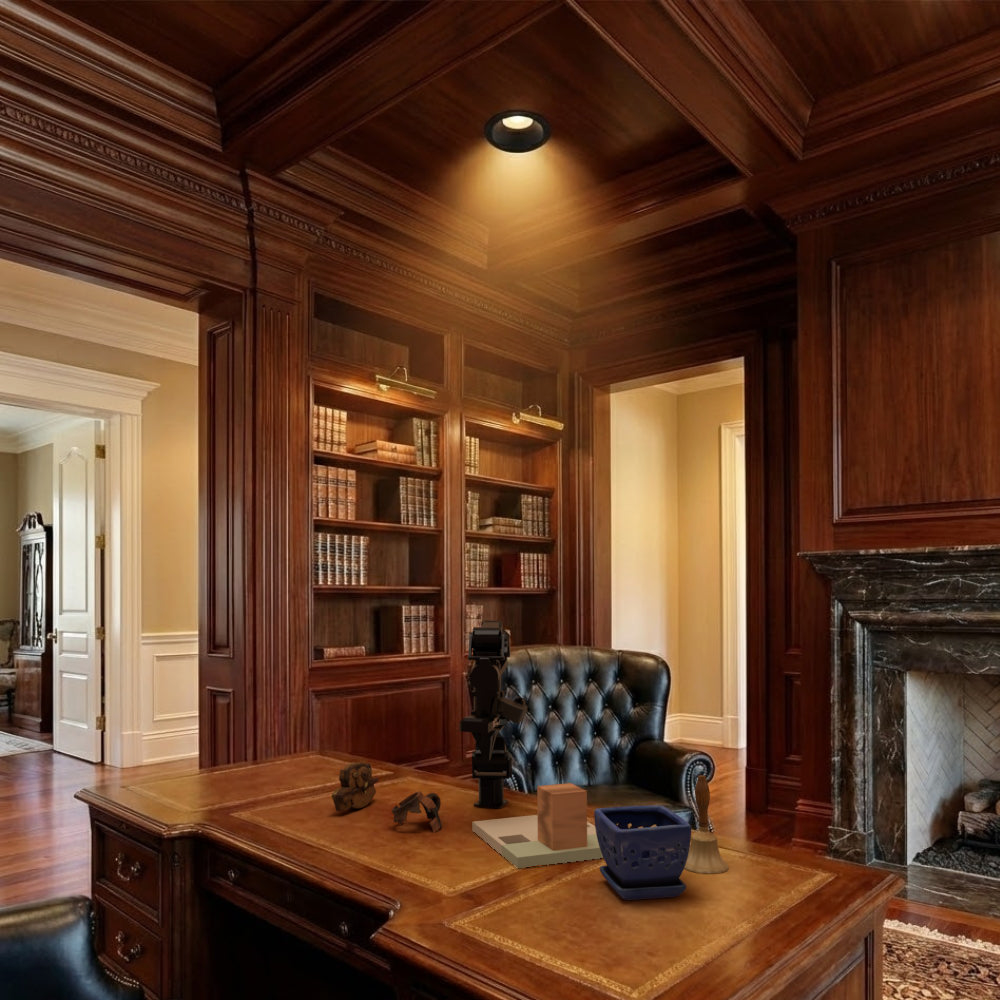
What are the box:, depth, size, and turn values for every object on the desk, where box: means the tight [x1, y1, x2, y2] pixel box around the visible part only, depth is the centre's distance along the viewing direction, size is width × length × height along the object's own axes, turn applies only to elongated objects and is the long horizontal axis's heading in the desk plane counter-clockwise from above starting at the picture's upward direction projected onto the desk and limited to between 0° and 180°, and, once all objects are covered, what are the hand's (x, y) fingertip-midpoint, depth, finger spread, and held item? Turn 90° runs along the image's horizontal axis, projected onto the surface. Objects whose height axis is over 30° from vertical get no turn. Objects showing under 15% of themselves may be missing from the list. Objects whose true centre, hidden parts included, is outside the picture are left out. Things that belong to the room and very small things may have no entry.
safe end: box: [501, 834, 604, 869], centre depth 161 cm, size 8×22×2 cm, turn 111°
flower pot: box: [593, 804, 692, 901], centre depth 144 cm, size 13×13×12 cm
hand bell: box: [684, 774, 729, 875], centre depth 155 cm, size 8×8×16 cm
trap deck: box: [471, 814, 596, 856], centre depth 172 cm, size 17×22×2 cm
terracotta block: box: [536, 782, 588, 851], centre depth 162 cm, size 7×7×10 cm
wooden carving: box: [331, 761, 379, 812], centre depth 195 cm, size 16×5×10 cm, turn 162°
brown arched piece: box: [391, 790, 443, 832], centre depth 181 cm, size 12×10×8 cm
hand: (487, 760), depth 184 cm, fingers closed
